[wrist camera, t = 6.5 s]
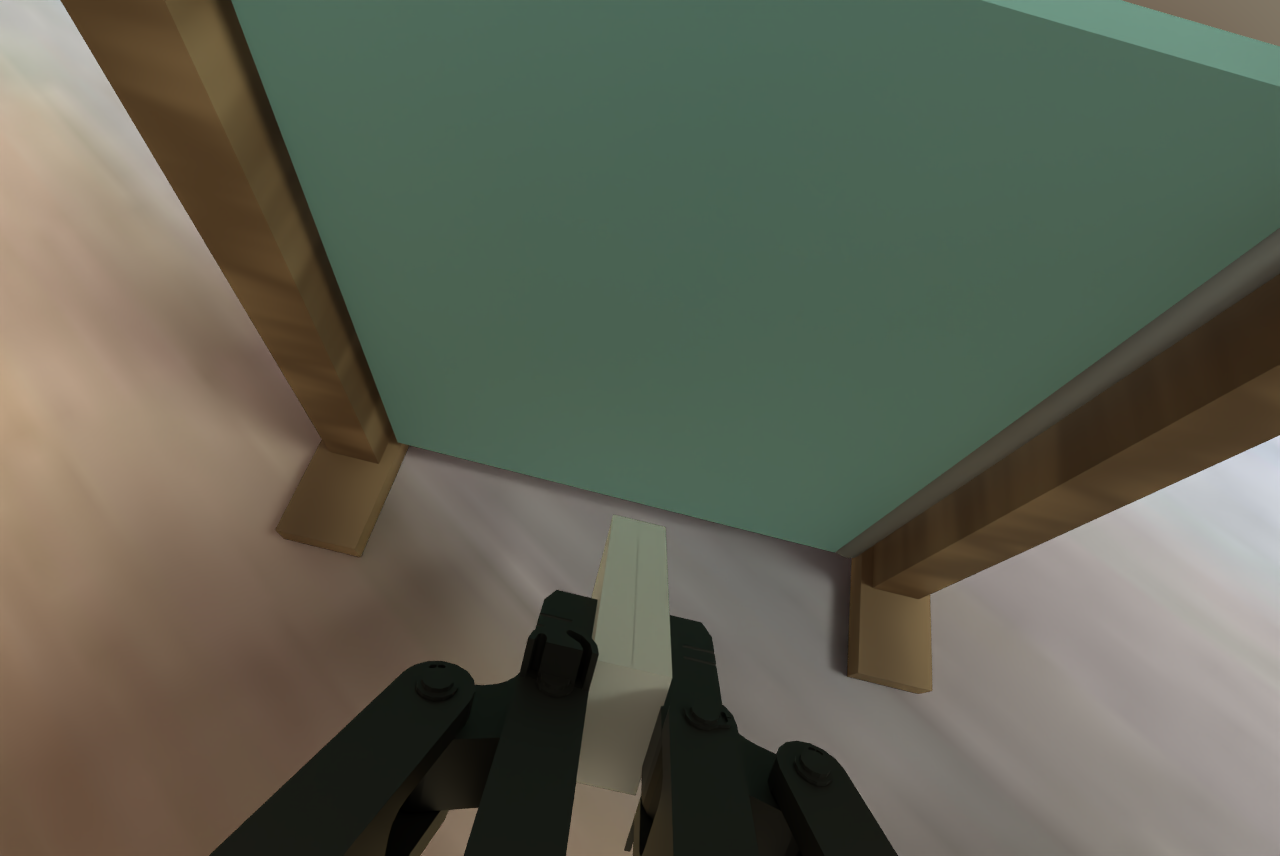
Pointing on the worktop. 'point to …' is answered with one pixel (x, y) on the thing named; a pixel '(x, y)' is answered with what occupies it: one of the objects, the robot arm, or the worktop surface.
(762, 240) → the door
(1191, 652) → the worktop surface
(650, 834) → the robot arm
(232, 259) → the gate frame
